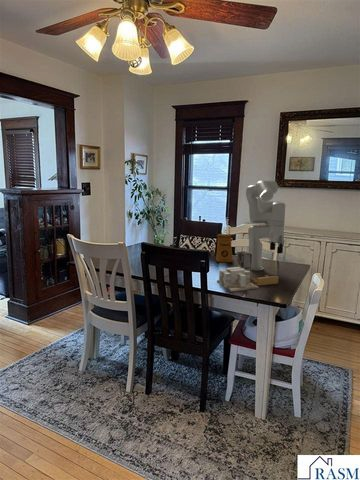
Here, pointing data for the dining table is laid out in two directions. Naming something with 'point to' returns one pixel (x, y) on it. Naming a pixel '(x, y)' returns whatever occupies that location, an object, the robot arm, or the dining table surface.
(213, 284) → the dining table surface
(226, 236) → the coffee package
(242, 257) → the coffee box
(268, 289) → the dining table surface
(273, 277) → the tan u-shaped bracket
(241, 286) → the white block cluster
